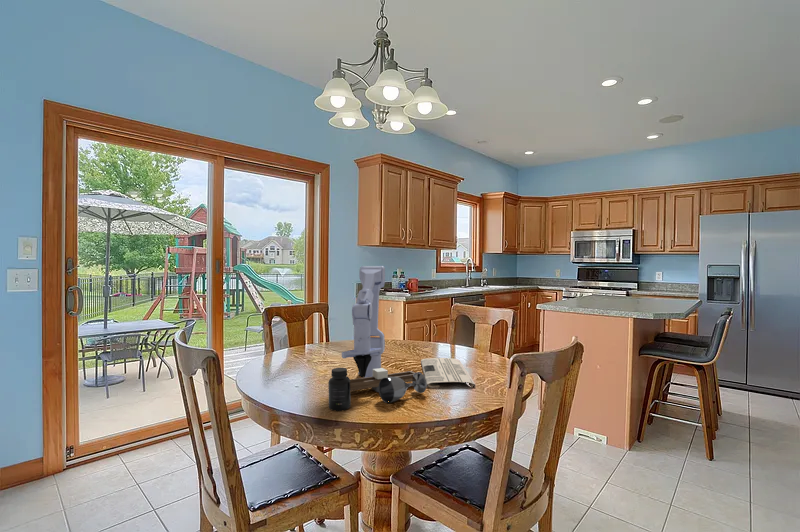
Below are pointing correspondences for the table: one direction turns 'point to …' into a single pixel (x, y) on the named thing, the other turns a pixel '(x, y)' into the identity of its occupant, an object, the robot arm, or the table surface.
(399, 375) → the beam
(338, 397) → the supplement bottle
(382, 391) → the wine glass
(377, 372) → the block
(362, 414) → the table surface
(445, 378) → the newspaper
